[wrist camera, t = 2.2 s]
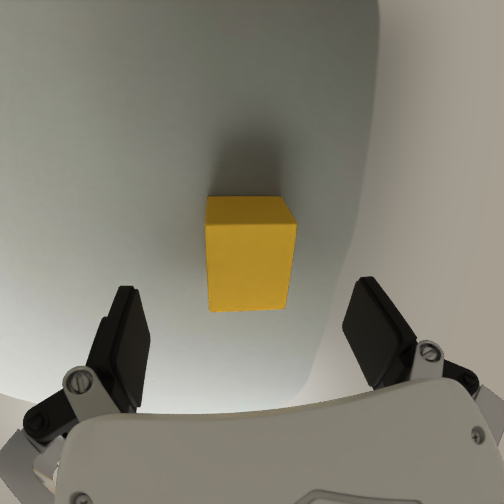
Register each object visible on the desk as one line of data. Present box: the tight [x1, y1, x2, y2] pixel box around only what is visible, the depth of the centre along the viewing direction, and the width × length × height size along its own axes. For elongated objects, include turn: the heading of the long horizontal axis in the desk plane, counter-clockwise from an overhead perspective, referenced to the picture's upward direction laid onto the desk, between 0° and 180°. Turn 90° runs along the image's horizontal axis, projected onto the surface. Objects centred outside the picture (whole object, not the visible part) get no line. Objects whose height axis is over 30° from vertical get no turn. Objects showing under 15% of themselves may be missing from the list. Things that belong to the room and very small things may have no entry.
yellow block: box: [205, 196, 298, 312], centre depth 15 cm, size 4×5×4 cm
